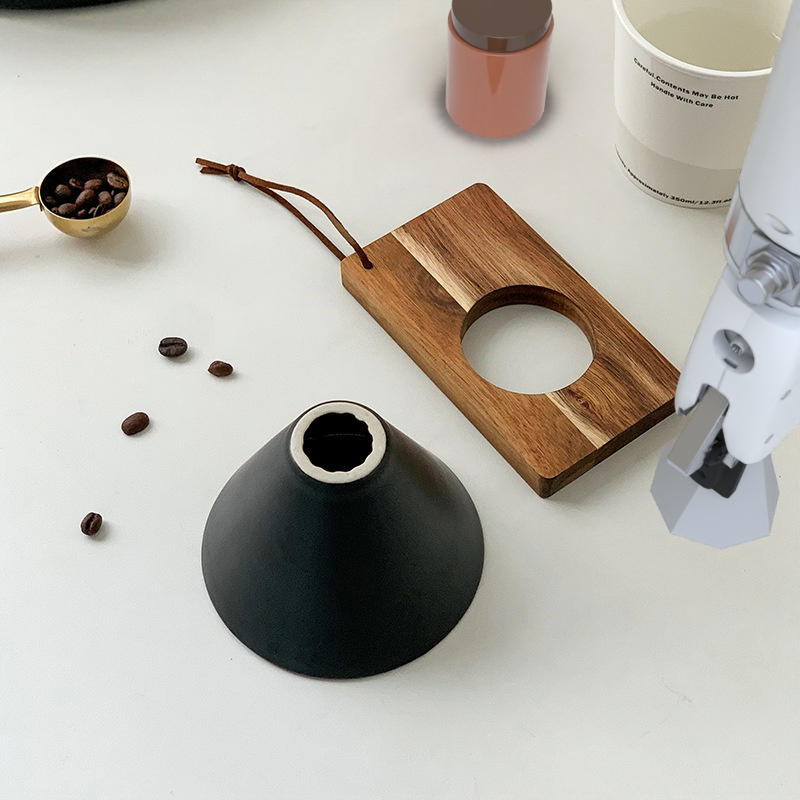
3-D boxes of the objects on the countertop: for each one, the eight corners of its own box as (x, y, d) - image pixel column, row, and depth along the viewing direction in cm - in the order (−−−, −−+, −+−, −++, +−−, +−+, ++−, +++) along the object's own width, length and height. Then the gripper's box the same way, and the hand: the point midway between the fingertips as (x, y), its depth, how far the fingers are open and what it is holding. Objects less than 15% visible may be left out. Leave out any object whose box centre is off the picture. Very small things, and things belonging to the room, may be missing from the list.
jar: (525, 67, 112) (535, -39, 103) (557, 132, 107) (571, 28, 98) (433, 86, 111) (434, -19, 101) (462, 153, 106) (466, 49, 97)
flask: (654, 550, 66) (686, 460, 57) (644, 438, 70) (672, 337, 61) (787, 553, 65) (839, 462, 57) (769, 439, 69) (815, 339, 61)
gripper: (784, 404, 44) (693, 603, 59) (1010, 161, 50) (875, 398, 65) (622, 294, 47) (576, 511, 62) (854, 77, 53) (760, 324, 68)
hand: (730, 451), depth 64 cm, fingers closed on flask, 3 cm apart
